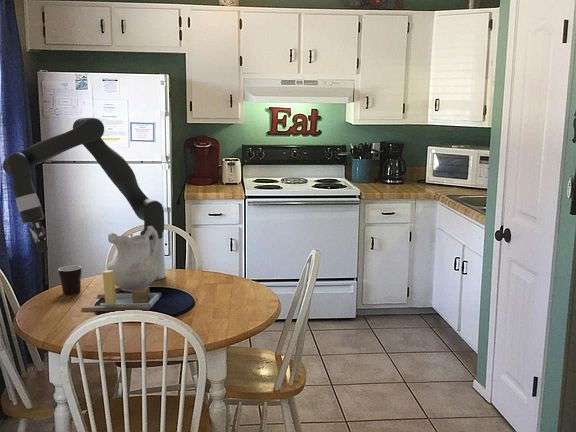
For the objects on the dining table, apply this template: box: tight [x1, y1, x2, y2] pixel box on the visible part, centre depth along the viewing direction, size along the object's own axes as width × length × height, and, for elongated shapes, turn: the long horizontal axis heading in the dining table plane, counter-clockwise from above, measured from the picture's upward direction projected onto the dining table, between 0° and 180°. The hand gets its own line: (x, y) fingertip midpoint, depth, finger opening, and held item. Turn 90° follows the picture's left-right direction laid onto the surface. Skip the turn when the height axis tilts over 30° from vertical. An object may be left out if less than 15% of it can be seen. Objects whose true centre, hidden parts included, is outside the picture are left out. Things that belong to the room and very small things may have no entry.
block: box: [131, 287, 151, 303], centre depth 243 cm, size 5×5×5 cm
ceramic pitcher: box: [107, 225, 159, 293], centre depth 263 cm, size 22×20×25 cm
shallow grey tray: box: [99, 269, 161, 309], centre depth 243 cm, size 13×18×13 cm
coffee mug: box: [57, 265, 82, 296], centre depth 264 cm, size 12×9×10 cm
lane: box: [81, 292, 162, 312], centre depth 244 cm, size 18×24×2 cm
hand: (43, 251), depth 239 cm, fingers open, 8 cm apart
